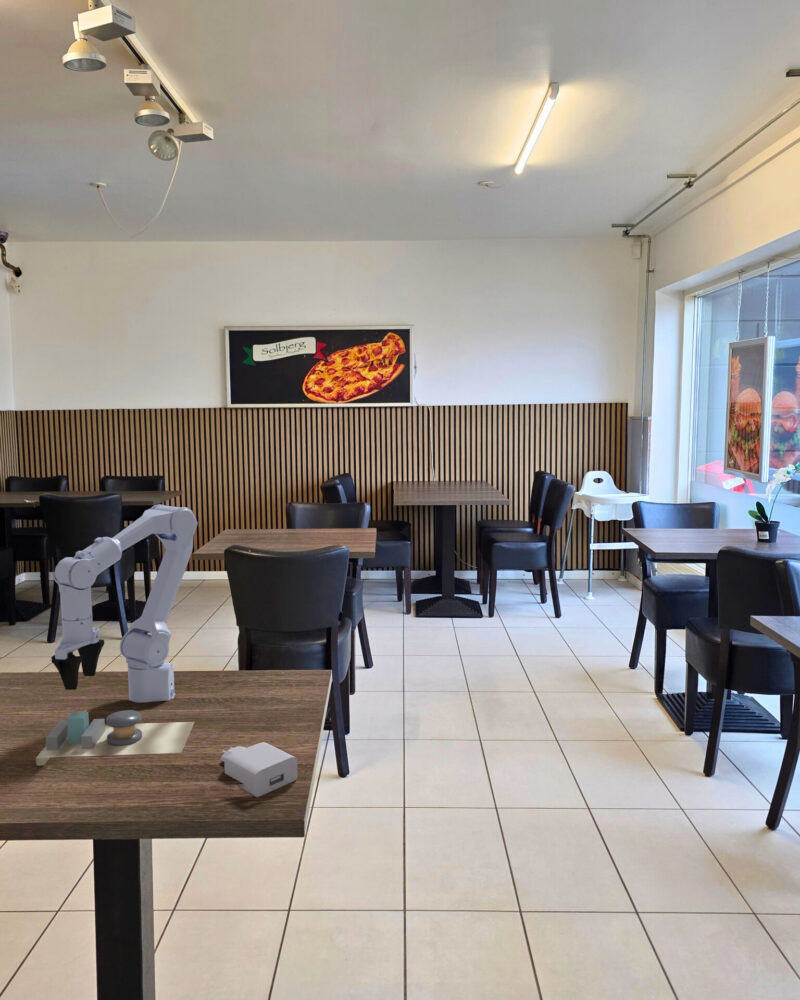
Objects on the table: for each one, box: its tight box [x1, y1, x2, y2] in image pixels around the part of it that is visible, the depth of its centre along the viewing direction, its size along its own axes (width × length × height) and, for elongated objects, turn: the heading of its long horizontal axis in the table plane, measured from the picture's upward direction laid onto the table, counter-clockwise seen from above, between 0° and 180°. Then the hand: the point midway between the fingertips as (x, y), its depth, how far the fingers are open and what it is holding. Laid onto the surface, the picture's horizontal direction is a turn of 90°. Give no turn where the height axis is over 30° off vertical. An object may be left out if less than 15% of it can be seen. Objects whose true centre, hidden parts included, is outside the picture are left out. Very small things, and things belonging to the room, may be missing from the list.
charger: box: [219, 741, 298, 798], centre depth 139 cm, size 5×9×15 cm
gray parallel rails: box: [45, 718, 106, 750], centre depth 150 cm, size 8×8×2 cm
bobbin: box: [105, 709, 142, 746], centre depth 150 cm, size 6×6×4 cm
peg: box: [66, 711, 90, 744], centre depth 149 cm, size 3×3×5 cm
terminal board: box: [35, 721, 195, 766], centre depth 150 cm, size 26×14×2 cm, turn 95°
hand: (80, 682), depth 158 cm, fingers open, 7 cm apart
